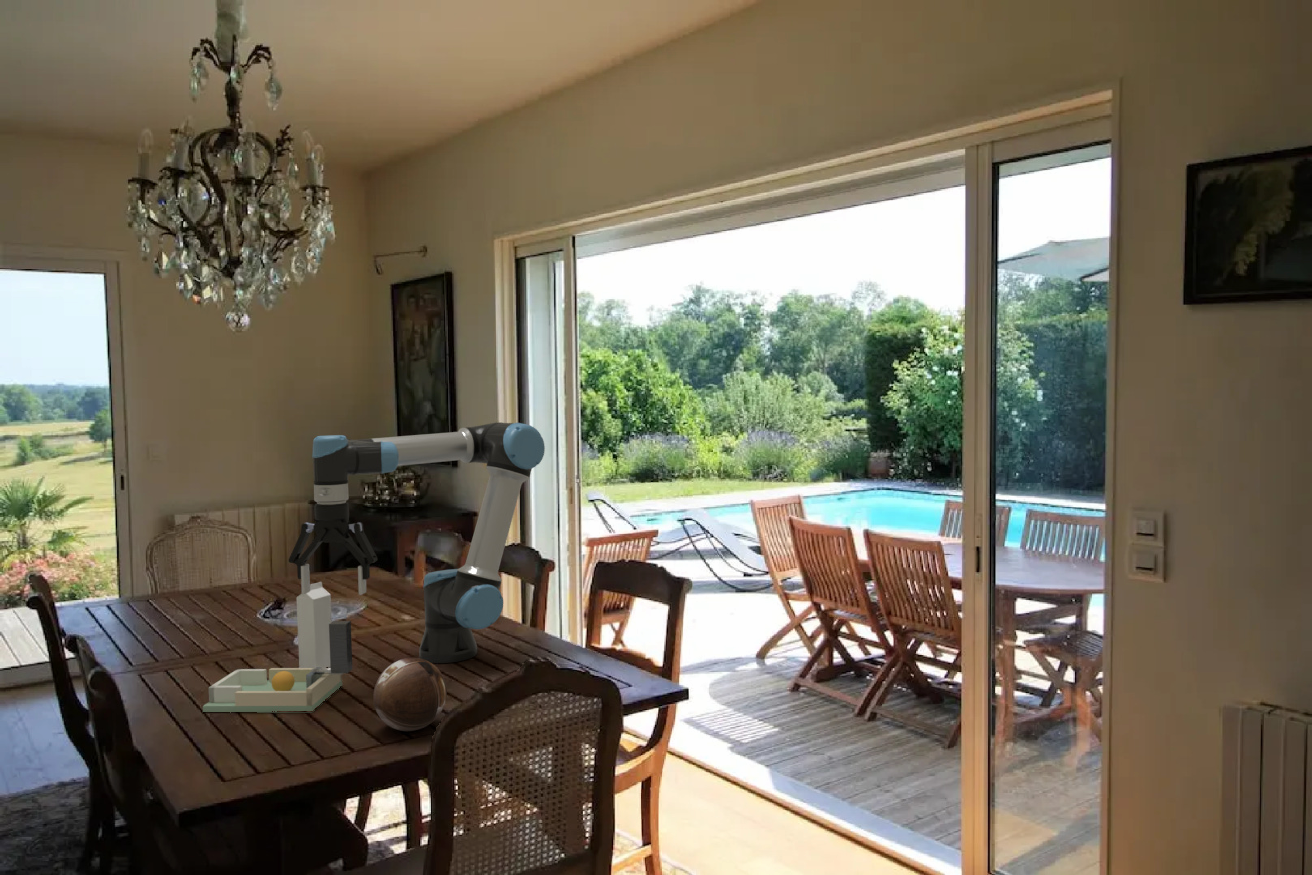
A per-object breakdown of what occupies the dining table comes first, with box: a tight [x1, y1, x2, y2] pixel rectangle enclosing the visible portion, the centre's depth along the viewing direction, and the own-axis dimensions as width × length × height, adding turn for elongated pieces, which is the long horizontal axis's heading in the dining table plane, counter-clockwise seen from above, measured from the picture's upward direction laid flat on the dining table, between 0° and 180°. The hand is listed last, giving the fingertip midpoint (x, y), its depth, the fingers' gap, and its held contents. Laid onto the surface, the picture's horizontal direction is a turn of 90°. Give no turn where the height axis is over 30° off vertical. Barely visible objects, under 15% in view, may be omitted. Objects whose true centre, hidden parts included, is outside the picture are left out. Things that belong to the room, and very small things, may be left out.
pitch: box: [202, 667, 343, 714], centre depth 218 cm, size 25×18×5 cm
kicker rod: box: [306, 620, 353, 688], centre depth 217 cm, size 9×6×16 cm, turn 88°
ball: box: [272, 671, 295, 691], centre depth 217 cm, size 5×5×5 cm
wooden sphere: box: [372, 657, 448, 732], centre depth 197 cm, size 15×15×15 cm
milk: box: [296, 581, 333, 668], centre depth 241 cm, size 6×6×22 cm
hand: (334, 593), depth 216 cm, fingers open, 13 cm apart
